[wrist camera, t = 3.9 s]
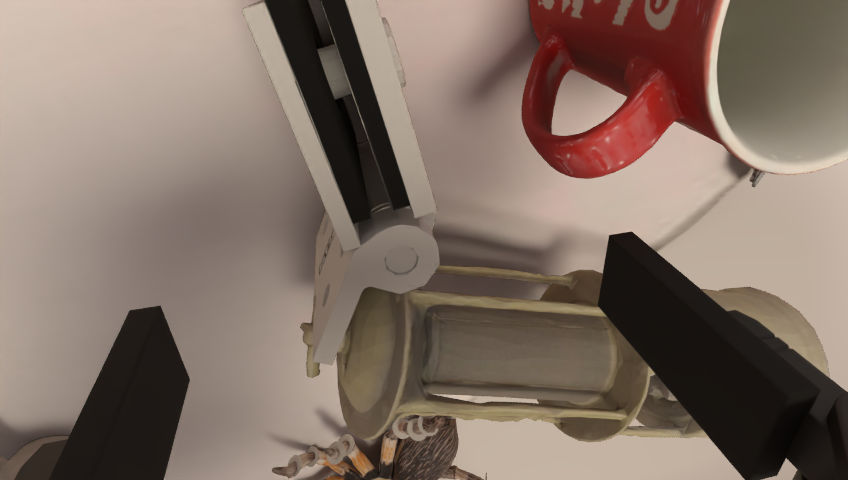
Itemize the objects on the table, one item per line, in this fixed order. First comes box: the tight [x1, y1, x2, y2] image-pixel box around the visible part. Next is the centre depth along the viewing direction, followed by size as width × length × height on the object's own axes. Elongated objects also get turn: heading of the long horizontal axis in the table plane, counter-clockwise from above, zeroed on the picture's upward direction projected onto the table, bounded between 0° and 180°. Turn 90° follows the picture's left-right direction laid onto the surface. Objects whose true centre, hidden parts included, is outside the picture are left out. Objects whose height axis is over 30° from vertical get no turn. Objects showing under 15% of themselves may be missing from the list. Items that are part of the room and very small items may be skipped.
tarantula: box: [272, 415, 487, 480], centre depth 36 cm, size 16×18×5 cm
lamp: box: [300, 265, 829, 442], centre depth 29 cm, size 10×13×30 cm
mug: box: [522, 0, 848, 179], centre depth 19 cm, size 13×9×14 cm
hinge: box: [242, 0, 440, 365], centre depth 20 cm, size 14×5×10 cm, turn 2°
